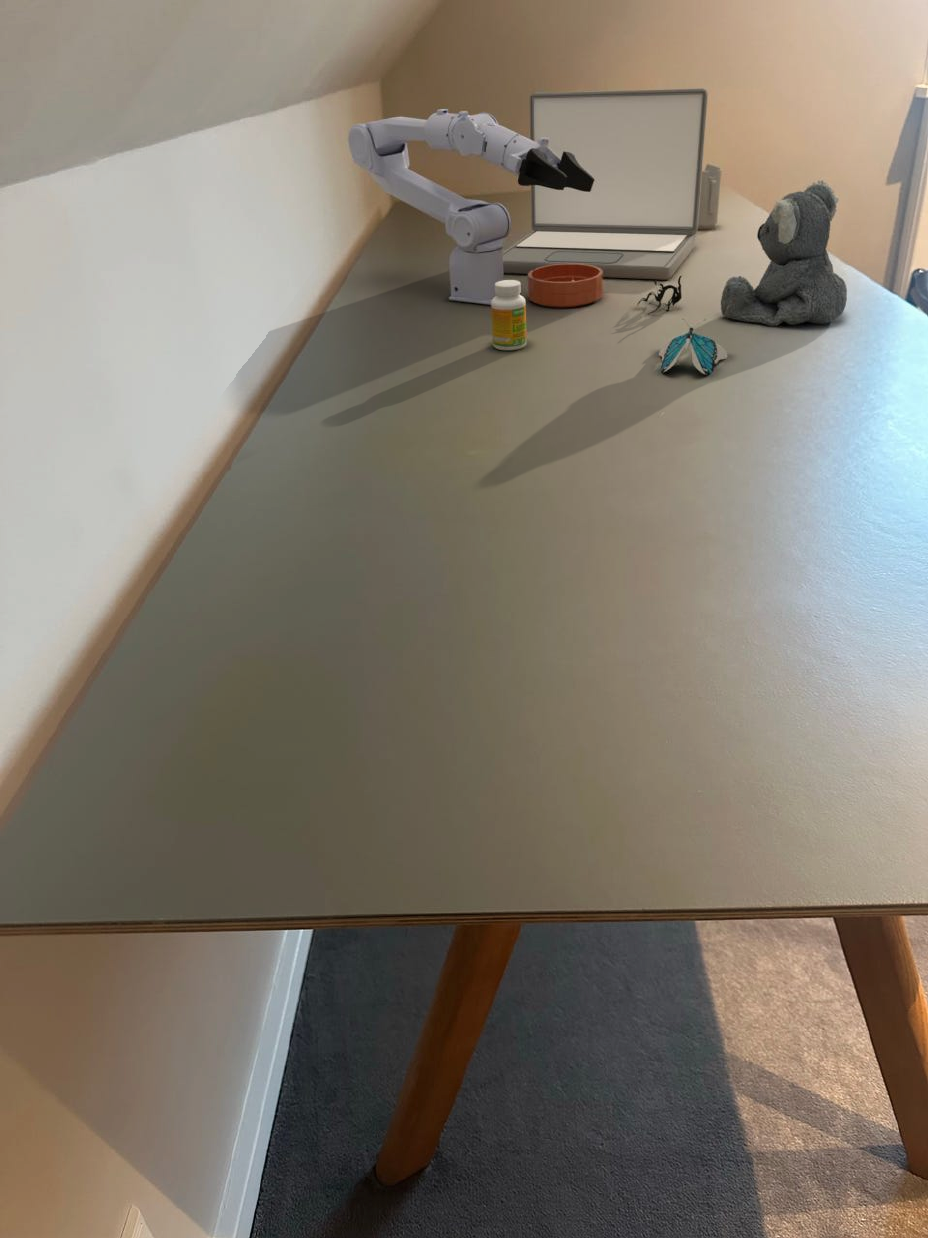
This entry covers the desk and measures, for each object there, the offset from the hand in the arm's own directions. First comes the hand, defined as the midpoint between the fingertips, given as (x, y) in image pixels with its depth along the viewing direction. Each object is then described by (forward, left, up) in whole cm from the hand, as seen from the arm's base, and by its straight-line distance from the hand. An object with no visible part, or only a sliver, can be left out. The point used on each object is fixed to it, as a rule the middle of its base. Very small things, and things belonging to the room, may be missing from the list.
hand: (578, 184), depth 149 cm
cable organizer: (-6, +72, -21) cm, 75 cm away
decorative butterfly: (+26, -16, -21) cm, 37 cm away
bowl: (-7, +9, -21) cm, 24 cm away
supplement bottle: (-3, -18, -21) cm, 28 cm away
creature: (+11, +9, -21) cm, 25 cm away
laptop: (-14, +36, -21) cm, 44 cm away
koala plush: (+32, +13, -21) cm, 41 cm away
